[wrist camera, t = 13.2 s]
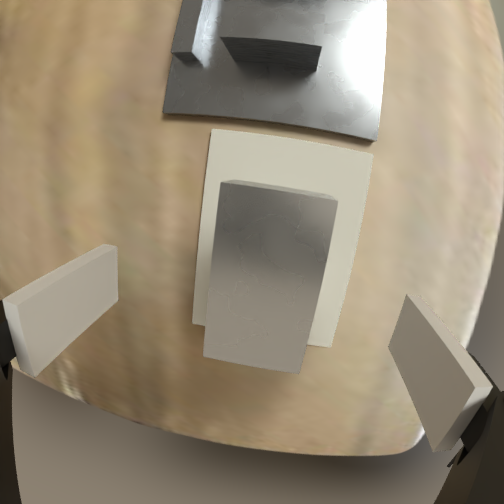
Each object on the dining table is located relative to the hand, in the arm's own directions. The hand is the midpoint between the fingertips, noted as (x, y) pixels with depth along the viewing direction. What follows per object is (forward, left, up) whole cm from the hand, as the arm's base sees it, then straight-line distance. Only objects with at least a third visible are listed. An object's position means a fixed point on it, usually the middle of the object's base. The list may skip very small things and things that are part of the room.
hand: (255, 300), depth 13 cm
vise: (-2, +20, -12) cm, 23 cm away
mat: (0, 0, -12) cm, 12 cm away
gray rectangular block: (0, +1, -11) cm, 11 cm away
